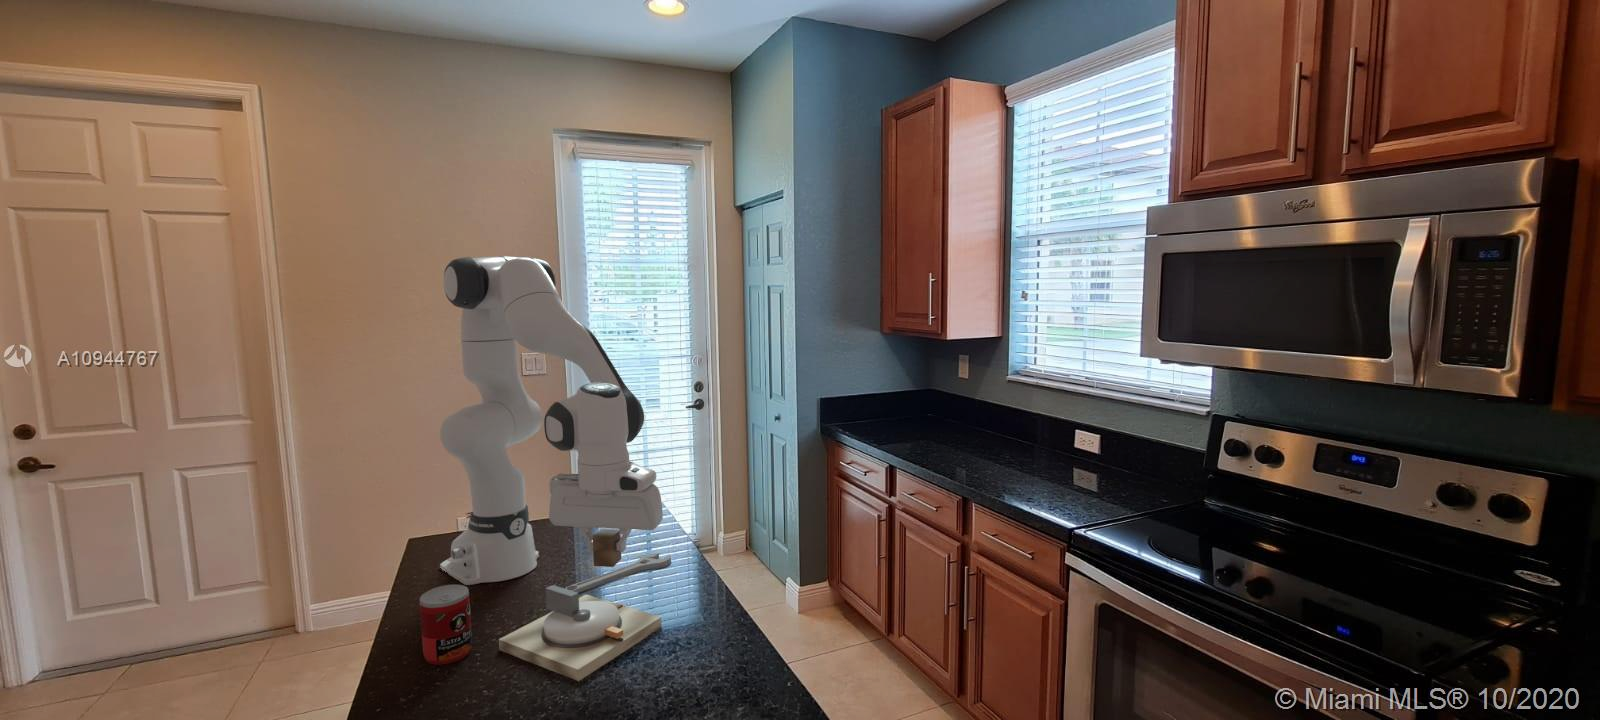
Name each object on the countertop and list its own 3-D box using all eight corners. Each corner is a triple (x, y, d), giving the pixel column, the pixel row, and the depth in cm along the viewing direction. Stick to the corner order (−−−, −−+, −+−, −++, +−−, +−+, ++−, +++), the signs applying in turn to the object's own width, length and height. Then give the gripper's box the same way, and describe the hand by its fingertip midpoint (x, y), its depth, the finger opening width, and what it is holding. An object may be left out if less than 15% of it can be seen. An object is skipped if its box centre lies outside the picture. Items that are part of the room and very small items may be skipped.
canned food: (440, 670, 113) (435, 608, 112) (414, 657, 117) (409, 597, 116) (482, 649, 119) (478, 590, 118) (456, 637, 124) (452, 580, 122)
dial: (521, 630, 121) (519, 600, 120) (577, 601, 132) (576, 573, 132) (592, 656, 112) (590, 624, 112) (646, 622, 123) (645, 593, 123)
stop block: (593, 566, 119) (592, 536, 119) (602, 557, 123) (601, 528, 122) (613, 567, 119) (611, 537, 118) (621, 558, 122) (620, 529, 122)
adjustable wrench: (568, 599, 140) (568, 590, 140) (557, 589, 145) (556, 581, 144) (674, 564, 156) (674, 557, 156) (660, 557, 161) (660, 549, 161)
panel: (499, 650, 119) (498, 637, 119) (586, 603, 136) (585, 592, 136) (578, 681, 109) (578, 667, 109) (661, 627, 126) (661, 615, 126)
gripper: (540, 477, 118) (544, 553, 119) (651, 482, 114) (654, 560, 116) (558, 468, 124) (561, 540, 125) (664, 472, 121) (666, 546, 122)
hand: (607, 550), depth 121 cm, fingers closed on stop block, 4 cm apart
